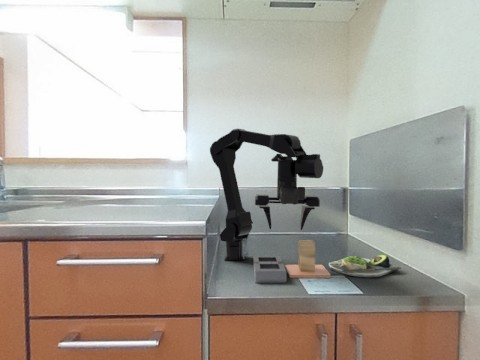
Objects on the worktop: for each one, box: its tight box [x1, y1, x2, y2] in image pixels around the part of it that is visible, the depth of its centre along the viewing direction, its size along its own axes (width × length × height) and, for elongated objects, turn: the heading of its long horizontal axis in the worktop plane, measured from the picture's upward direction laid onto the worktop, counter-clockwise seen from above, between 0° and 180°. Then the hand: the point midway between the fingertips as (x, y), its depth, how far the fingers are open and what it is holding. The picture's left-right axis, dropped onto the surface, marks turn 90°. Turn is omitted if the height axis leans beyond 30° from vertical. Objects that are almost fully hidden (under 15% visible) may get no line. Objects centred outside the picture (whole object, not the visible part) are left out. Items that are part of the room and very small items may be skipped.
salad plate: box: [328, 254, 402, 278], centre depth 107 cm, size 19×18×5 cm
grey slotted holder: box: [252, 255, 287, 284], centre depth 105 cm, size 18×8×3 cm, turn 0°
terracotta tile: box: [284, 264, 332, 279], centre depth 106 cm, size 11×11×1 cm
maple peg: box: [298, 239, 316, 271], centre depth 106 cm, size 4×4×8 cm
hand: (285, 229), depth 111 cm, fingers open, 9 cm apart
